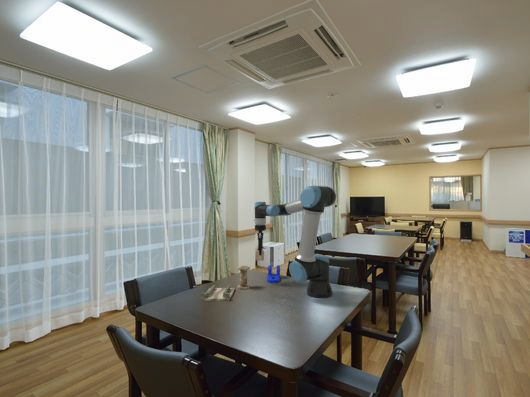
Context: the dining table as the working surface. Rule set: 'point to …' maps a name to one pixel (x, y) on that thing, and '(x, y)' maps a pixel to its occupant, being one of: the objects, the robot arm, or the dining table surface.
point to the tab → (262, 255)
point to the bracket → (273, 275)
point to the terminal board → (218, 294)
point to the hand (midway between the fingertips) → (260, 259)
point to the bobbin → (243, 277)
